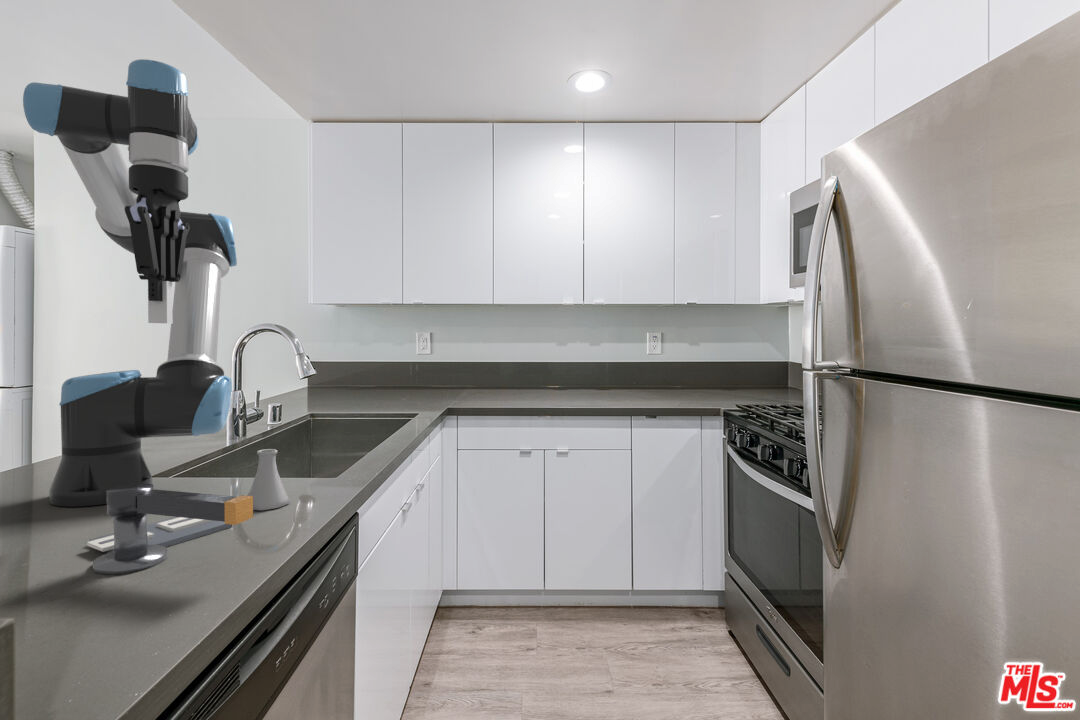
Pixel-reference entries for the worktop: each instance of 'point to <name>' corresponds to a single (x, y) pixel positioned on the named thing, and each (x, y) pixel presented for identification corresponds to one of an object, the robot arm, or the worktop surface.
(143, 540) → the round pedestal stand
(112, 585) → the worktop surface
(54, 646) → the worktop surface
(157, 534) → the label board
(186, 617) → the worktop surface
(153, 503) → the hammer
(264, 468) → the flask
